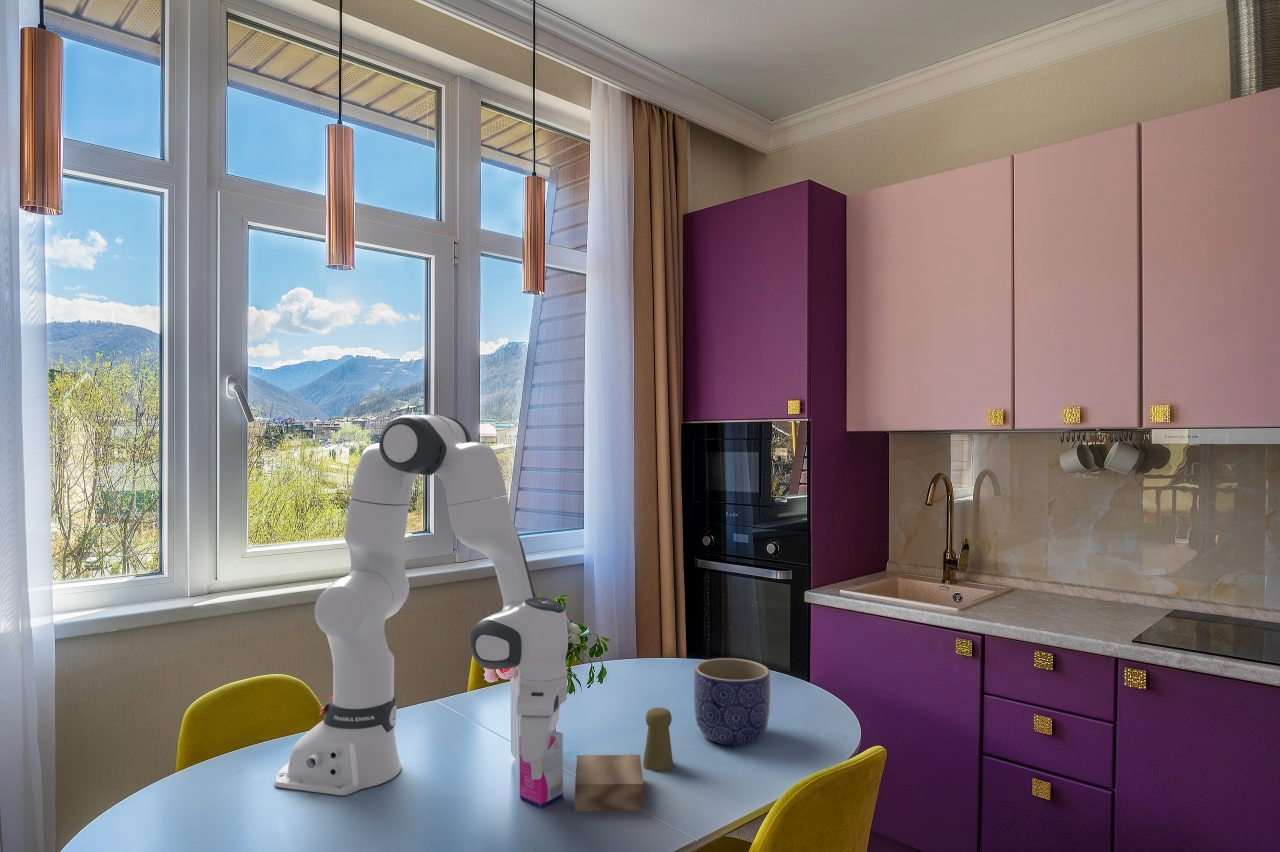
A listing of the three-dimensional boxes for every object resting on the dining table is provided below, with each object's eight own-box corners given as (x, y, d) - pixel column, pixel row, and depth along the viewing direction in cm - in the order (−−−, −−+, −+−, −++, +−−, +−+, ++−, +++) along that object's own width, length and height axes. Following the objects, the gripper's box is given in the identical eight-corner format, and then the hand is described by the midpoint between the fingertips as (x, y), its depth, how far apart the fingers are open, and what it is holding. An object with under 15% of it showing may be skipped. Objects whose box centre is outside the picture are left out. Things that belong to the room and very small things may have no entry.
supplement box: (541, 786, 141) (542, 725, 142) (563, 796, 138) (564, 733, 138) (517, 797, 137) (518, 734, 137) (540, 808, 133) (541, 743, 133)
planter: (687, 747, 160) (688, 677, 160) (700, 719, 176) (700, 655, 176) (766, 756, 156) (767, 683, 156) (772, 726, 172) (772, 660, 172)
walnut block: (574, 813, 133) (575, 784, 133) (576, 781, 145) (577, 755, 145) (643, 812, 133) (643, 783, 133) (639, 780, 145) (639, 754, 145)
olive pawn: (647, 772, 148) (648, 716, 148) (639, 759, 154) (640, 705, 154) (677, 769, 150) (677, 713, 150) (667, 756, 155) (668, 703, 156)
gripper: (535, 671, 148) (533, 742, 148) (514, 709, 128) (513, 791, 127) (567, 672, 148) (565, 743, 148) (551, 710, 127) (550, 792, 127)
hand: (541, 766), depth 137 cm, fingers closed on supplement box, 8 cm apart
